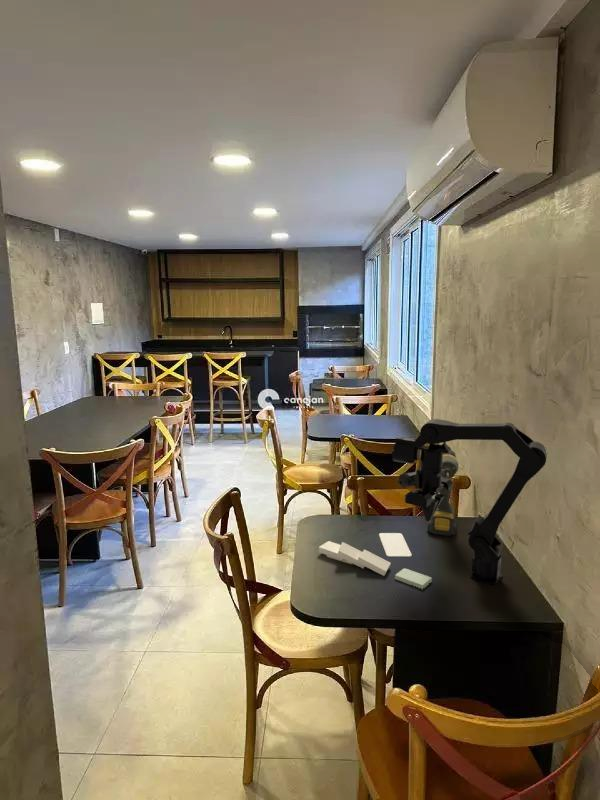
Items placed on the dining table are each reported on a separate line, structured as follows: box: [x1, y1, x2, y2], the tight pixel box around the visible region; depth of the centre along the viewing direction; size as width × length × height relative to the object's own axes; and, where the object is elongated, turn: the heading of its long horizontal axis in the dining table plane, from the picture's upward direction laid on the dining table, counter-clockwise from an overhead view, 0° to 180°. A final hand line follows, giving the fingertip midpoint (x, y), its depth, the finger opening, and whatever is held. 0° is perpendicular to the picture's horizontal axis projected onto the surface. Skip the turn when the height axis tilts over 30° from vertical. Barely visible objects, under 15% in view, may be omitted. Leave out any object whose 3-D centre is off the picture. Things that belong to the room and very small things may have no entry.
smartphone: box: [378, 532, 413, 558], centre depth 160 cm, size 7×1×15 cm
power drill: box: [427, 449, 459, 537], centre depth 168 cm, size 20×9×25 cm, turn 168°
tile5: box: [326, 555, 354, 565], centre depth 152 cm, size 2×5×8 cm
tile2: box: [357, 549, 392, 577], centre depth 145 cm, size 2×5×8 cm
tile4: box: [318, 540, 344, 561], centre depth 152 cm, size 2×5×8 cm
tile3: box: [337, 541, 366, 569], centre depth 148 cm, size 2×5×8 cm
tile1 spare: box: [394, 568, 433, 590], centre depth 139 cm, size 2×5×8 cm
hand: (428, 520), depth 147 cm, fingers closed
